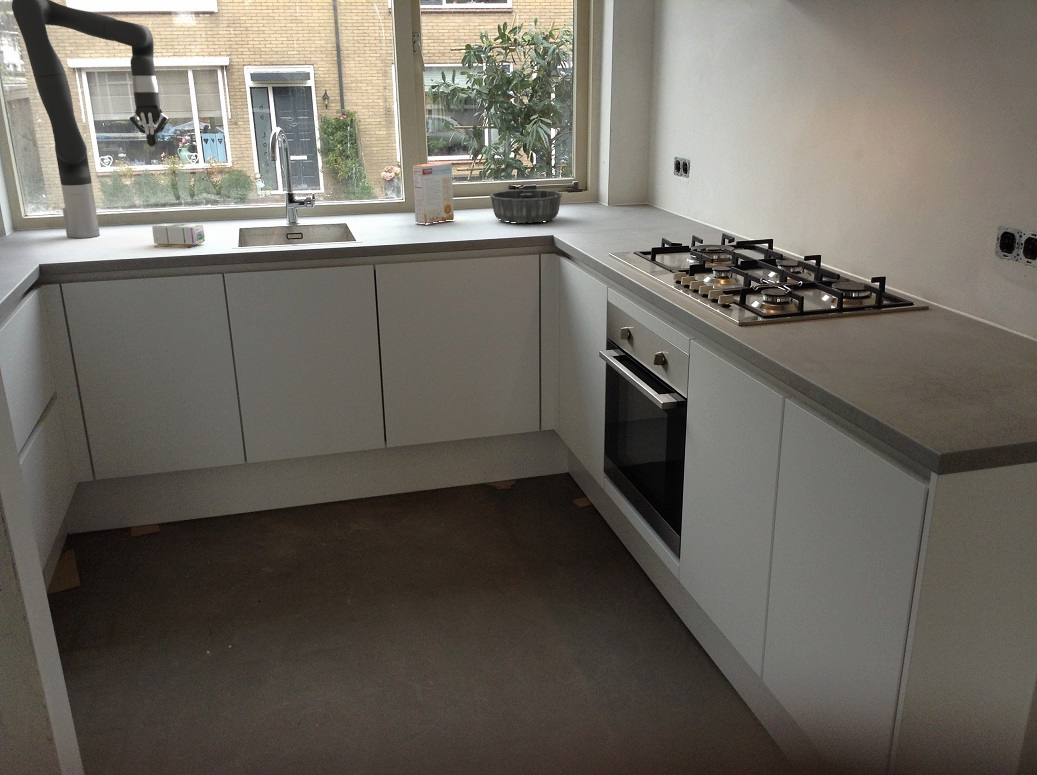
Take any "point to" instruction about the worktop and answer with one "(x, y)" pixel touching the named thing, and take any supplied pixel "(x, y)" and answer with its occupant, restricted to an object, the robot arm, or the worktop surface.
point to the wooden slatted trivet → (173, 245)
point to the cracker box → (433, 192)
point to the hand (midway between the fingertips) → (153, 146)
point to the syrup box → (178, 234)
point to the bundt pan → (526, 205)
